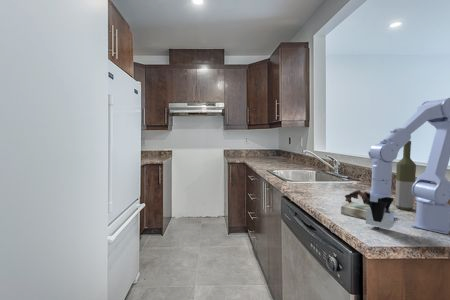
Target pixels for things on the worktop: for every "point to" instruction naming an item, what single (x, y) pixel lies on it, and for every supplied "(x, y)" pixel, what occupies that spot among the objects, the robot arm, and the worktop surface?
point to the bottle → (405, 179)
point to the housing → (386, 219)
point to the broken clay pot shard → (355, 195)
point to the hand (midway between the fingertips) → (379, 219)
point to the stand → (355, 209)
